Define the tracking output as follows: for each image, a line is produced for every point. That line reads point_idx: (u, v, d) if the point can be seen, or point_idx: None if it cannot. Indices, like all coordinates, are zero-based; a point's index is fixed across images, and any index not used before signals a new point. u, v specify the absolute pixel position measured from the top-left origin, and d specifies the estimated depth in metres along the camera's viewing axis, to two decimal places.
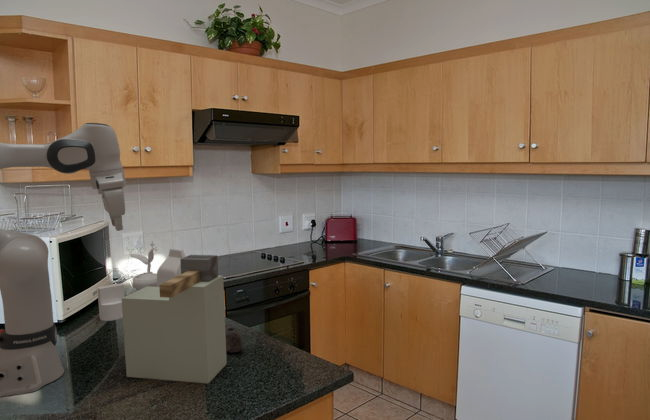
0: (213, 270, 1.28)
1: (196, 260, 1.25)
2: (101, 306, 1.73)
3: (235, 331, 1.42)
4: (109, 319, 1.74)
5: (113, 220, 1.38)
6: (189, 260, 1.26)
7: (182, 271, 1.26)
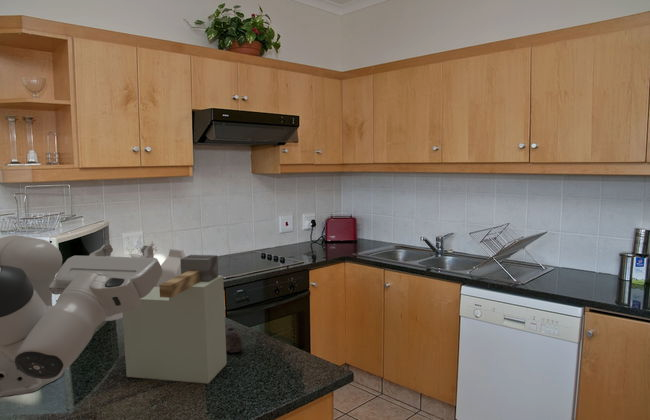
0: (213, 270, 1.28)
1: (196, 260, 1.25)
2: None
3: (235, 331, 1.42)
4: (109, 319, 1.74)
5: (107, 253, 0.98)
6: (189, 260, 1.26)
7: (182, 271, 1.26)
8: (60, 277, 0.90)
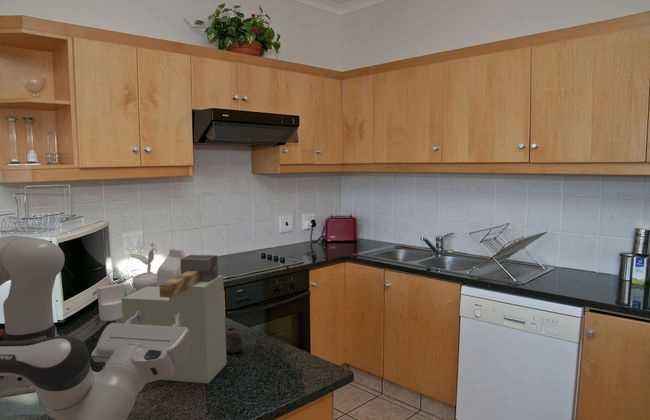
0: (213, 270, 1.28)
1: (196, 260, 1.25)
2: (101, 306, 1.73)
3: (235, 331, 1.42)
4: (109, 319, 1.74)
5: (141, 319, 1.08)
6: (189, 260, 1.26)
7: (182, 271, 1.26)
8: (101, 346, 1.00)
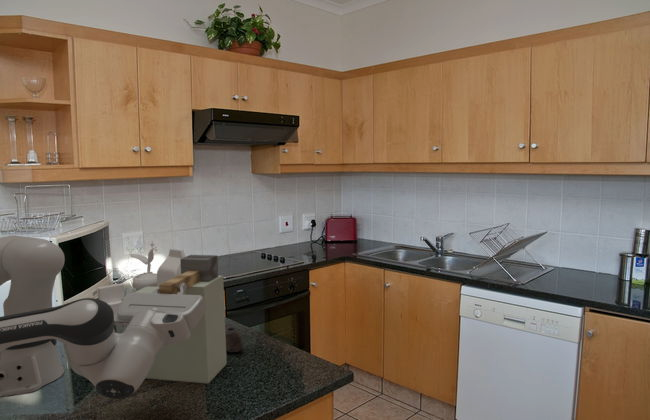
0: (213, 270, 1.28)
1: (196, 260, 1.25)
2: None
3: (235, 331, 1.42)
4: None
5: None
6: (189, 260, 1.26)
7: (182, 271, 1.26)
8: (122, 312, 1.07)
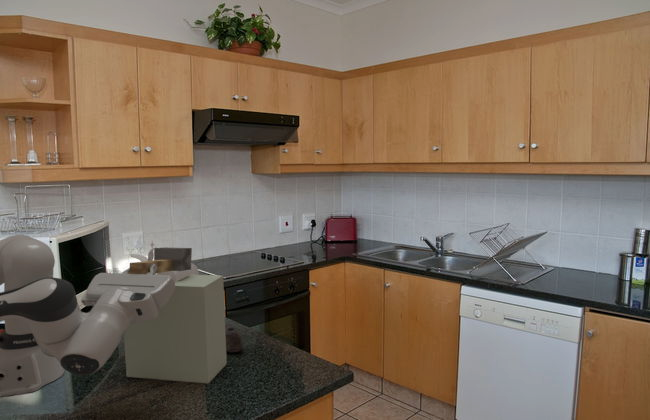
0: (186, 261, 1.29)
1: (170, 249, 1.27)
2: None
3: (235, 331, 1.42)
4: None
5: None
6: (163, 249, 1.27)
7: (155, 260, 1.27)
8: (91, 291, 1.08)
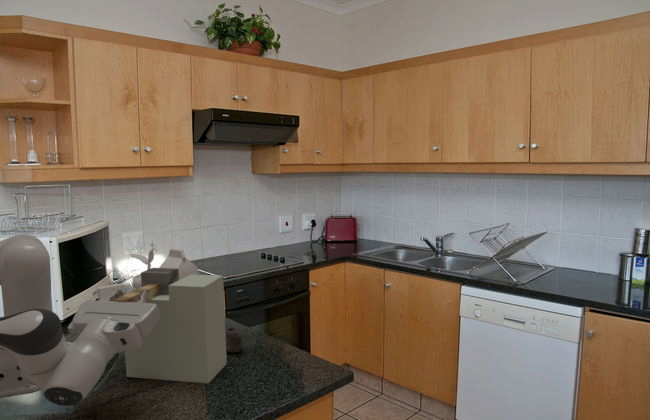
0: None
1: (156, 274, 1.28)
2: None
3: (235, 331, 1.42)
4: None
5: None
6: (149, 274, 1.28)
7: (142, 284, 1.29)
8: (77, 320, 1.10)
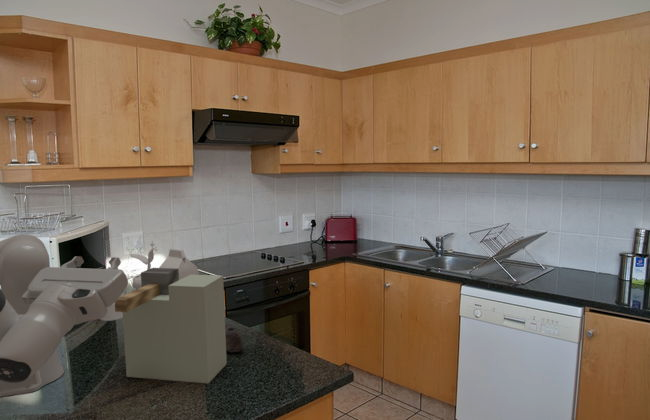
0: None
1: (156, 274, 1.28)
2: None
3: (235, 331, 1.42)
4: (109, 319, 1.74)
5: (78, 265, 1.05)
6: (149, 274, 1.28)
7: (142, 284, 1.29)
8: (32, 287, 0.97)
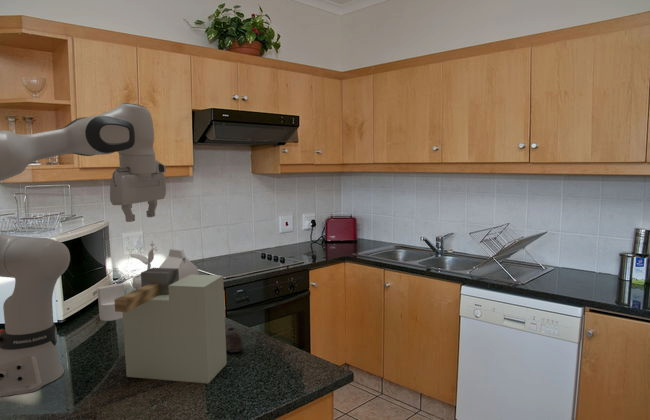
0: None
1: (156, 274, 1.28)
2: (101, 306, 1.73)
3: (235, 331, 1.42)
4: (109, 319, 1.74)
5: (132, 214, 1.20)
6: (149, 274, 1.28)
7: (142, 284, 1.29)
8: None
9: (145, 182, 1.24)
